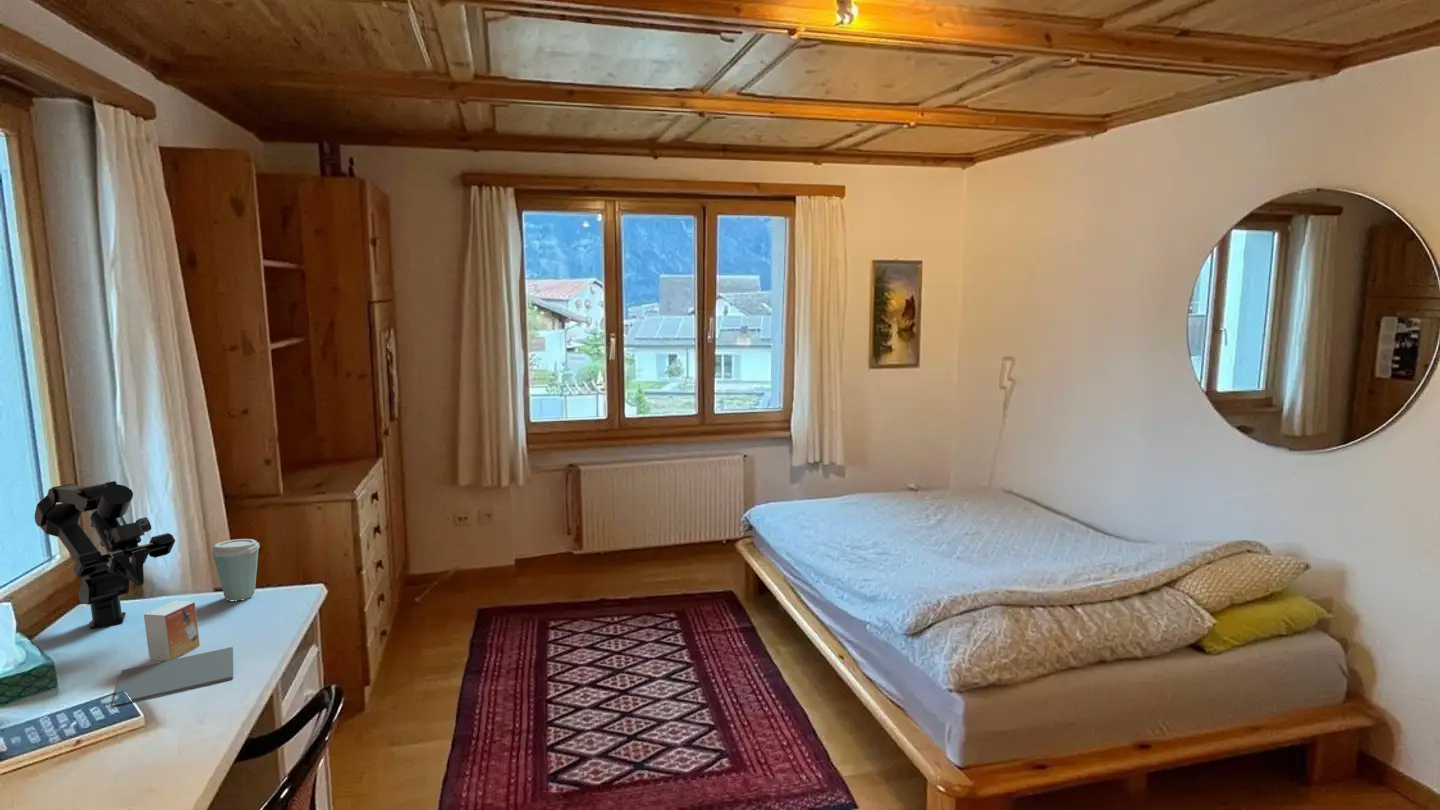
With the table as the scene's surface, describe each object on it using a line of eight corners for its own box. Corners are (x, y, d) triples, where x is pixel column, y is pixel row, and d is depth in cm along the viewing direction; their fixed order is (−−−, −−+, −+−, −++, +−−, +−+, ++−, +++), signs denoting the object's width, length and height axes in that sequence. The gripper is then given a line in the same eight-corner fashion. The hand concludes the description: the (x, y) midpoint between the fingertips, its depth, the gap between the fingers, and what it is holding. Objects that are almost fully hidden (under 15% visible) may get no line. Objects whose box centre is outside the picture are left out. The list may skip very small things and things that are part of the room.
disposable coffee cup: (229, 590, 215) (223, 536, 213) (272, 588, 216) (266, 534, 214) (209, 606, 204) (202, 549, 202) (254, 603, 206) (247, 547, 203)
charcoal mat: (122, 672, 170) (121, 670, 170) (232, 649, 180) (232, 646, 180) (112, 706, 156) (112, 703, 156) (233, 678, 166) (232, 676, 166)
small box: (170, 662, 174) (164, 615, 173) (148, 660, 176) (142, 614, 174) (201, 645, 182) (195, 601, 181) (180, 643, 183) (174, 599, 182)
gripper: (71, 520, 175) (100, 578, 171) (166, 499, 191) (195, 552, 187) (61, 549, 181) (89, 605, 177) (154, 526, 196) (182, 578, 192)
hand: (141, 584), depth 183 cm, fingers closed
